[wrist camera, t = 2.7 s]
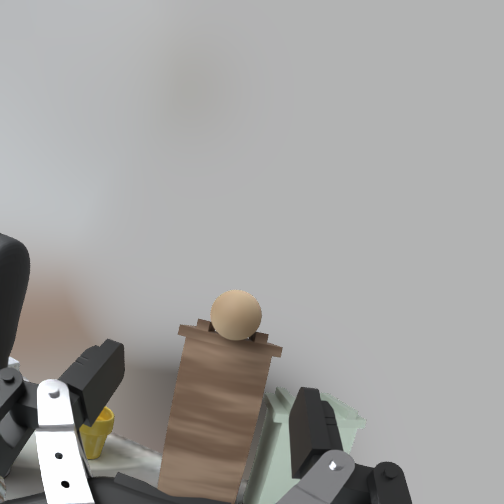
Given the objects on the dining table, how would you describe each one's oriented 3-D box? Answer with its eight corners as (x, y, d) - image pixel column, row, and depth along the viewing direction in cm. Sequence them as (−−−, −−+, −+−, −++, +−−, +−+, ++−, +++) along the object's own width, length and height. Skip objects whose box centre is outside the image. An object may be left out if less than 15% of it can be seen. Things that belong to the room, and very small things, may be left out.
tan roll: (255, 345, 24) (266, 296, 25) (205, 333, 24) (217, 284, 25) (244, 337, 45) (250, 311, 46) (218, 331, 45) (224, 305, 46)
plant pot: (110, 445, 42) (115, 405, 44) (109, 470, 32) (113, 426, 35) (63, 431, 38) (66, 390, 41) (53, 453, 29) (54, 408, 31)
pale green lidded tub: (319, 539, 23) (368, 411, 30) (238, 537, 23) (278, 403, 30) (302, 503, 35) (337, 394, 41) (237, 498, 35) (266, 385, 41)
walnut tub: (231, 536, 23) (284, 337, 32) (146, 517, 23) (182, 314, 32) (231, 497, 35) (271, 335, 43) (163, 482, 35) (195, 318, 43)
